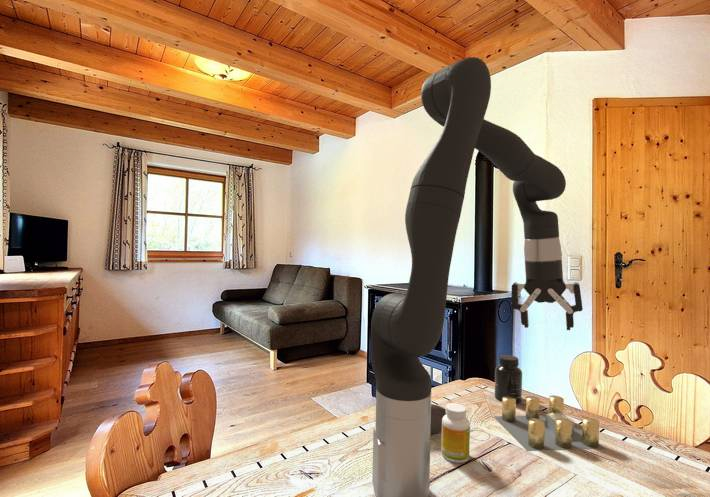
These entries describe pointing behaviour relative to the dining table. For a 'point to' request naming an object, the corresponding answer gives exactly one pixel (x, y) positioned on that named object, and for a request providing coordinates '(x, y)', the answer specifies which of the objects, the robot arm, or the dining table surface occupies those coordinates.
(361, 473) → the dining table surface
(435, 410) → the perforated stone tool
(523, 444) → the mat
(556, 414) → the white faced textured brick
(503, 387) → the supplement bottle
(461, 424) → the supplement bottle
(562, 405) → the spacers
